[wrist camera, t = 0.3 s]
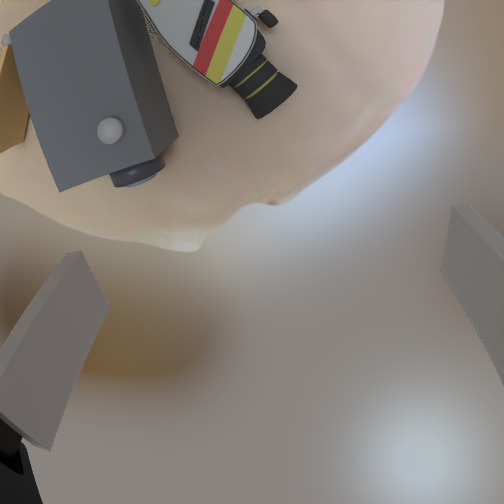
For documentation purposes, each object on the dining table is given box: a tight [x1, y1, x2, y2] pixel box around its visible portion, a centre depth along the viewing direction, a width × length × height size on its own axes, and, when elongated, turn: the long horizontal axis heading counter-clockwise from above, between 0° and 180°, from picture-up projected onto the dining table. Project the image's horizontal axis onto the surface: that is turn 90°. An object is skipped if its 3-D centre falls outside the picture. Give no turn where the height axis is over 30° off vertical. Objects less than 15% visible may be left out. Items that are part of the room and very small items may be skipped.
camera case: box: [9, 0, 178, 192], centre depth 26 cm, size 23×12×10 cm, turn 13°
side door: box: [0, 34, 29, 153], centre depth 25 cm, size 16×2×8 cm, turn 153°
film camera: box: [136, 0, 297, 119], centre depth 24 cm, size 7×19×15 cm
